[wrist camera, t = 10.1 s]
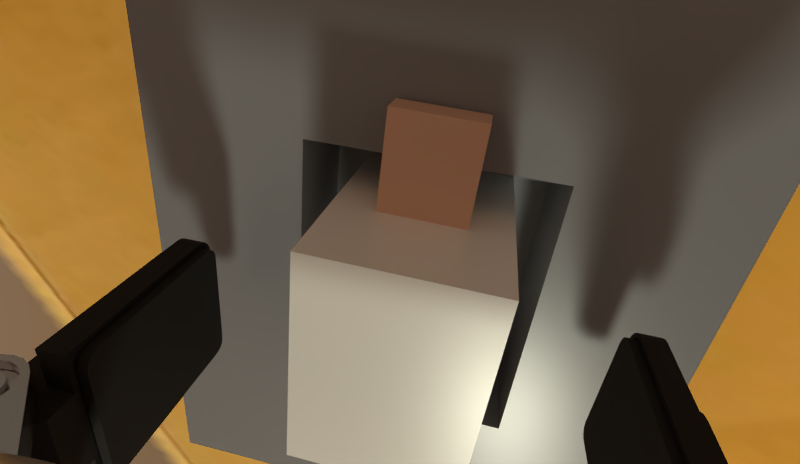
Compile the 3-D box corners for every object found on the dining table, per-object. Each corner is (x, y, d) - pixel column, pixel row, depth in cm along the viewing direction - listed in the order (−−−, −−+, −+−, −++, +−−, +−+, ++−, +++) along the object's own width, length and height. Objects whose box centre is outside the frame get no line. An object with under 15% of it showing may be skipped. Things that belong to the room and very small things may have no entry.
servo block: (534, 94, 12) (558, 175, 7) (460, 379, 17) (441, 557, 11) (382, 68, 12) (293, 125, 7) (352, 353, 17) (285, 512, 12)
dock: (783, -15, 11) (910, -17, 7) (579, 446, 18) (596, 549, 15) (217, -82, 13) (109, -109, 9) (243, 365, 20) (190, 442, 17)
